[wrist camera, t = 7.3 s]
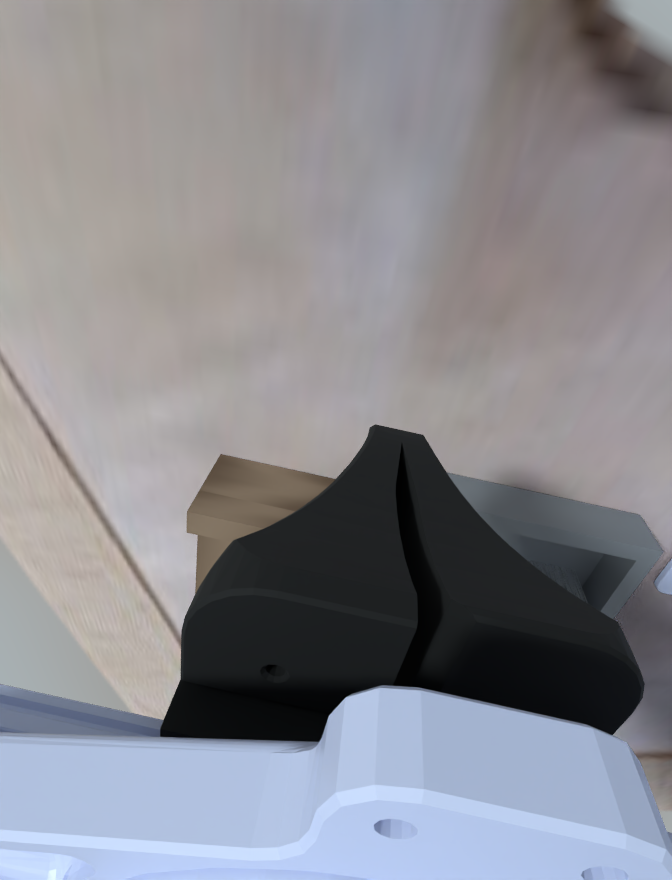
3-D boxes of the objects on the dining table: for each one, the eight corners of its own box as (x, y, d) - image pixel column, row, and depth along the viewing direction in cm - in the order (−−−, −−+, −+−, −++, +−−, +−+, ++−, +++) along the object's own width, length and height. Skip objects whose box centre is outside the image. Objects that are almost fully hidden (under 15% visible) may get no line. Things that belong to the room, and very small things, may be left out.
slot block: (435, 501, 25) (441, 567, 21) (394, 610, 29) (393, 681, 25) (220, 454, 25) (187, 511, 21) (213, 570, 29) (184, 634, 25)
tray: (639, 514, 24) (663, 551, 21) (540, 662, 30) (551, 702, 28) (446, 472, 24) (450, 505, 21) (387, 629, 30) (386, 666, 28)
